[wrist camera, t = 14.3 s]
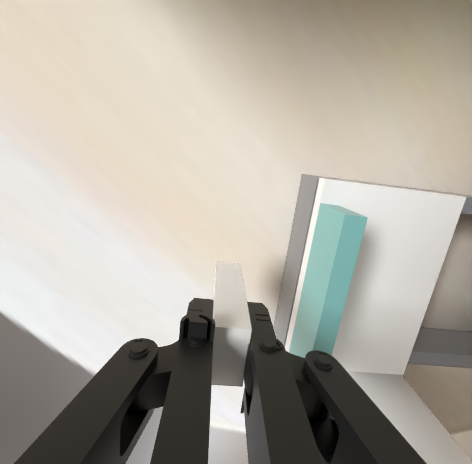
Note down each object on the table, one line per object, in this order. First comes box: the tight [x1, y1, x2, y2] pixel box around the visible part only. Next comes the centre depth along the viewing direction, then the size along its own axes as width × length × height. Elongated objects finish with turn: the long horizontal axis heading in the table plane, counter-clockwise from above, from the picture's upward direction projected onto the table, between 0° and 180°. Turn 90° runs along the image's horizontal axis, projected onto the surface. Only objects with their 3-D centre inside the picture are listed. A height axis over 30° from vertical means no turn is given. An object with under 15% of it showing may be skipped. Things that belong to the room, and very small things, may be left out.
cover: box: [285, 178, 466, 375], centre depth 17 cm, size 14×9×4 cm
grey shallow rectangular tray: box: [274, 174, 472, 368], centre depth 22 cm, size 14×22×4 cm, turn 83°
